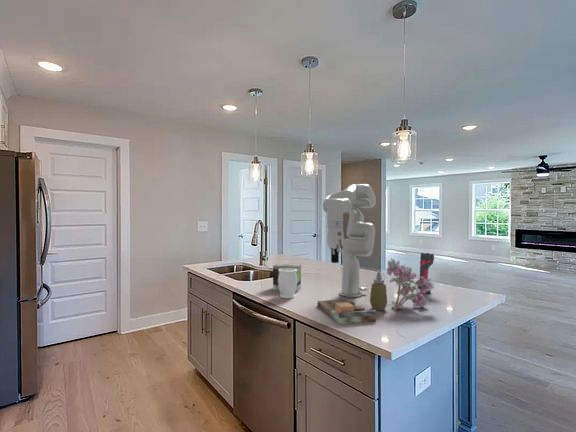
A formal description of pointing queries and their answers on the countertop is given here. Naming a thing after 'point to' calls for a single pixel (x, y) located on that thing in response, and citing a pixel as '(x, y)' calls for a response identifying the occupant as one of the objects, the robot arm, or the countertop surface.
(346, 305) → the block
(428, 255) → the flashlight
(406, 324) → the countertop surface
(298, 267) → the tea box
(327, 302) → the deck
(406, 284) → the flower
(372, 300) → the squeeze bottle
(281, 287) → the jar
